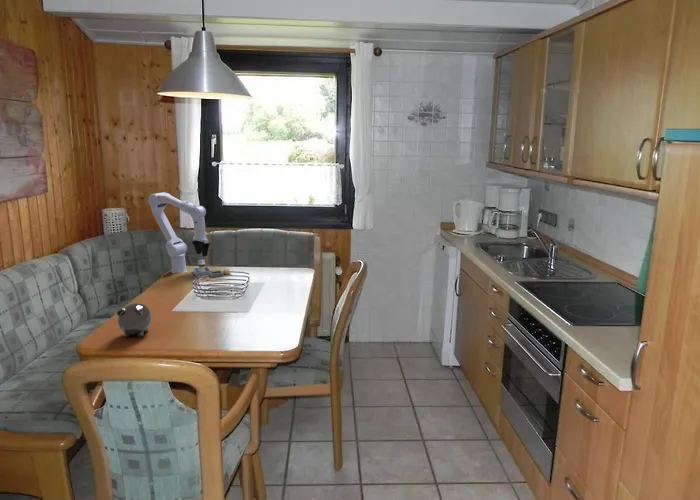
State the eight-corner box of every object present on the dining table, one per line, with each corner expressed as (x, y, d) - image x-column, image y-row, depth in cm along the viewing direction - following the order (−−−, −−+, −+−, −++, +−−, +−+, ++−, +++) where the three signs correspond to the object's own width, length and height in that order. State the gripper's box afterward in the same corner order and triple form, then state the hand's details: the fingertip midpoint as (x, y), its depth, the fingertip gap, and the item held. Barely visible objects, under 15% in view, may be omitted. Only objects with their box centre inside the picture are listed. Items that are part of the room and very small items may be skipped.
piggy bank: (112, 342, 189) (108, 311, 186) (129, 328, 203) (125, 299, 201) (143, 341, 188) (140, 310, 186) (158, 327, 203) (155, 298, 201)
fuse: (198, 272, 284) (197, 260, 283) (204, 272, 286) (203, 259, 284) (200, 274, 281) (199, 261, 280) (206, 273, 283) (205, 260, 282)
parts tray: (192, 272, 287) (192, 268, 286) (208, 270, 290) (208, 266, 290) (195, 277, 277) (195, 272, 277) (212, 275, 281) (211, 270, 280)
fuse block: (209, 275, 279) (208, 269, 279) (229, 273, 283) (228, 267, 283) (211, 279, 272) (211, 272, 271) (232, 276, 276) (232, 270, 276)
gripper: (186, 229, 282) (189, 254, 285) (198, 232, 271) (200, 258, 274) (199, 227, 286) (201, 252, 289) (211, 230, 275) (213, 256, 278)
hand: (202, 255), depth 282 cm, fingers open, 7 cm apart
